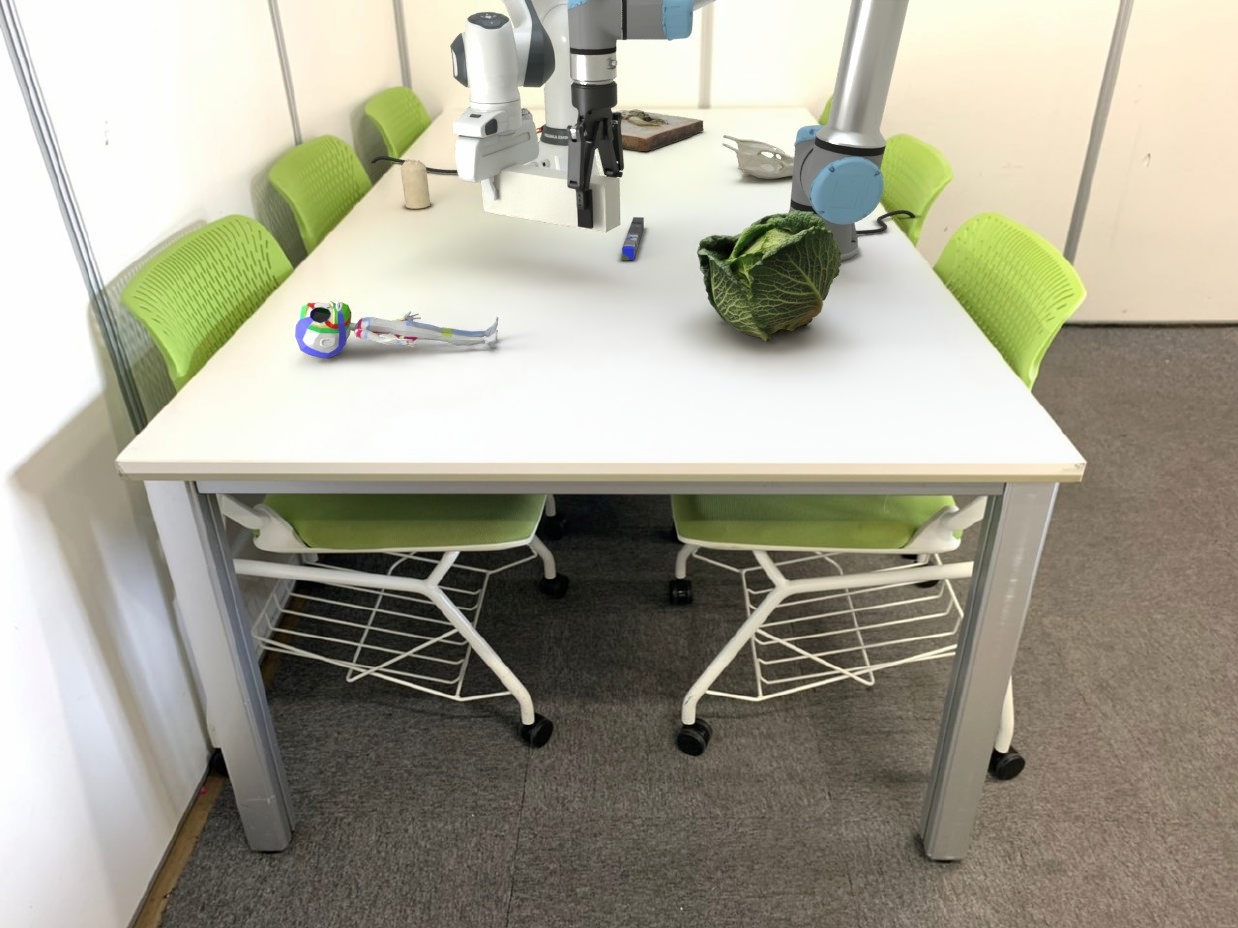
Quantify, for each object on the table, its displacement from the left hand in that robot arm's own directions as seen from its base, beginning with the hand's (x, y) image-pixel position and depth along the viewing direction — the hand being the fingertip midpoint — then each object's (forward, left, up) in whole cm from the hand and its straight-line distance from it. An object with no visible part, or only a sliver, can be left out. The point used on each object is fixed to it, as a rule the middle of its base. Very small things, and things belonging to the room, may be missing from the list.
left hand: (503, 195), depth 165 cm
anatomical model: (+22, +79, -12) cm, 83 cm away
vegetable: (+56, -7, -12) cm, 57 cm away
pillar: (+17, +19, -12) cm, 28 cm away
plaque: (-30, +102, -12) cm, 107 cm away
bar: (+10, 0, -3) cm, 11 cm away
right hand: (+21, 0, -2) cm, 21 cm away
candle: (-39, +19, -12) cm, 45 cm away
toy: (+10, -41, -12) cm, 44 cm away
